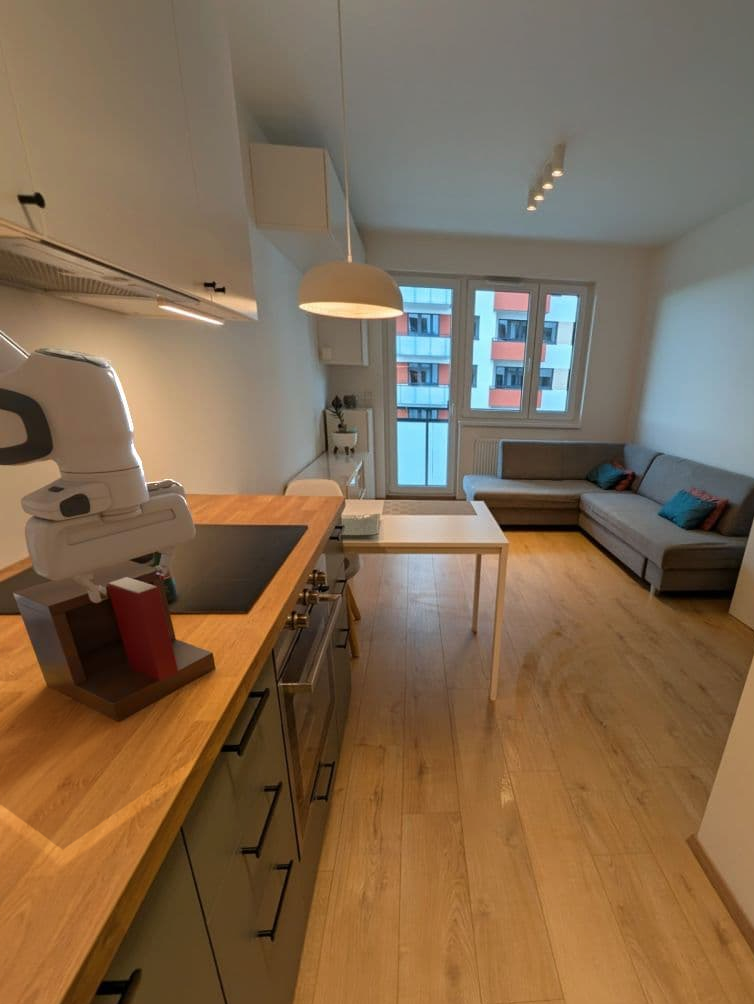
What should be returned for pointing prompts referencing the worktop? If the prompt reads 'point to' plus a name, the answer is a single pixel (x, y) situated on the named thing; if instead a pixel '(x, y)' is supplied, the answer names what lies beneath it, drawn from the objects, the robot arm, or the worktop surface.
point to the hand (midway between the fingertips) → (134, 588)
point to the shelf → (99, 644)
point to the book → (143, 627)
